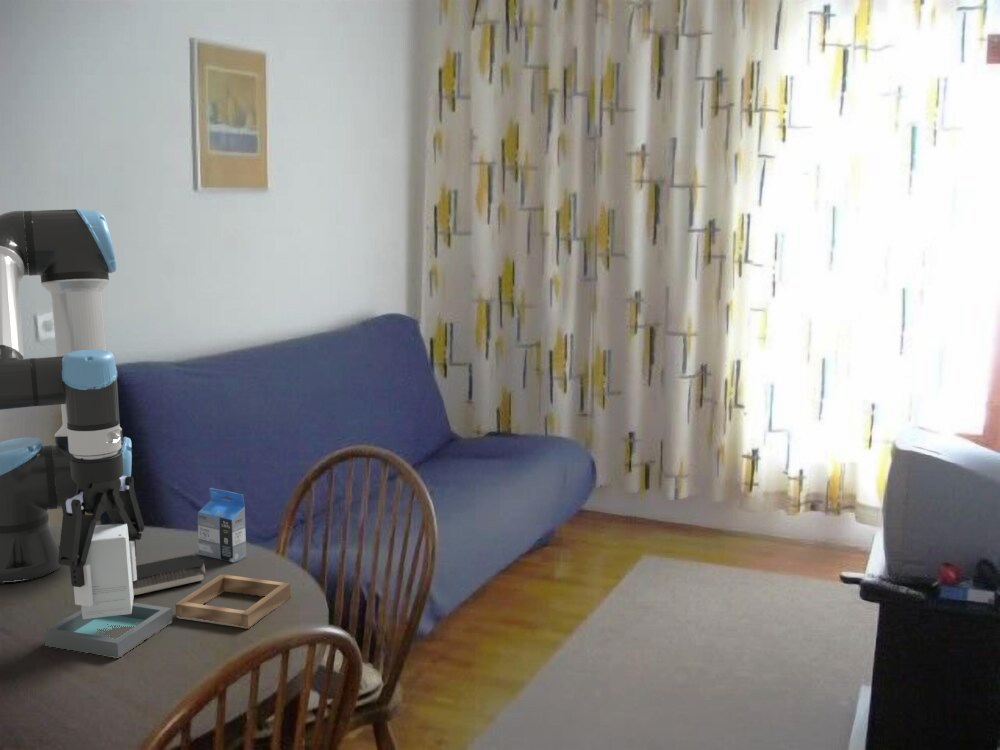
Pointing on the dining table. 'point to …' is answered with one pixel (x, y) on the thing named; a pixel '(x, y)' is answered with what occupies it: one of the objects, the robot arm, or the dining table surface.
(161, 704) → the dining table surface
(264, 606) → the wooden picture frame
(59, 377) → the robot arm
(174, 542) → the dining table surface
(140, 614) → the grey teal square tray
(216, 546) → the label tape box
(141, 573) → the black scrub brush
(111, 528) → the supplement box
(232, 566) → the dining table surface
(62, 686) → the dining table surface
